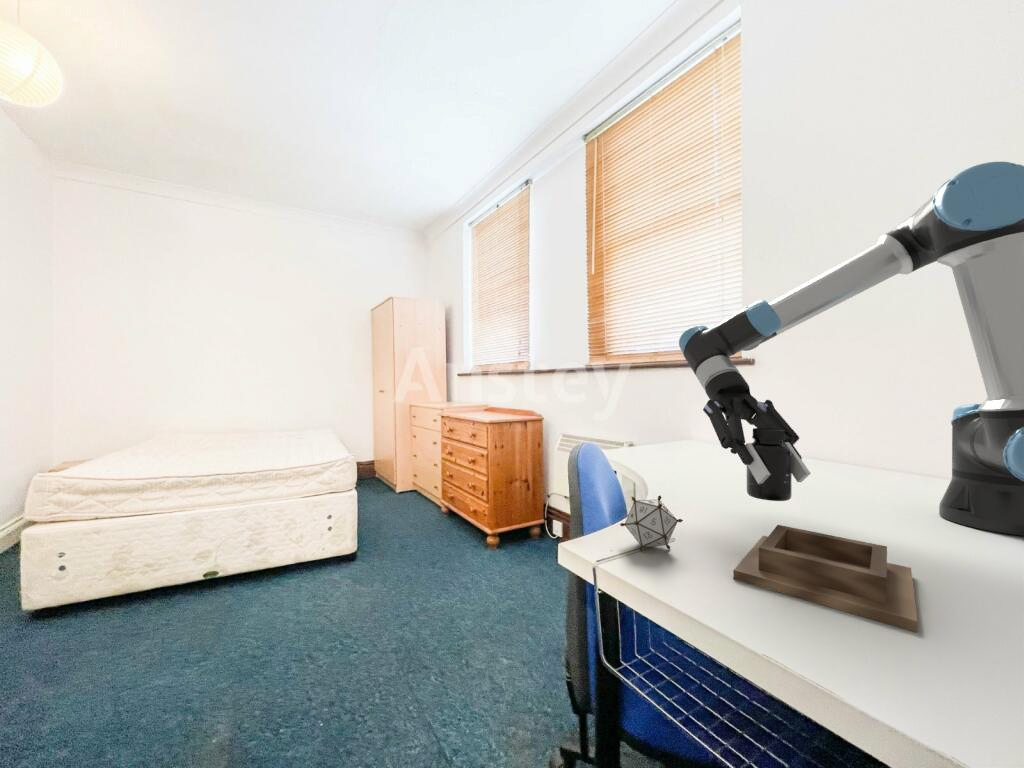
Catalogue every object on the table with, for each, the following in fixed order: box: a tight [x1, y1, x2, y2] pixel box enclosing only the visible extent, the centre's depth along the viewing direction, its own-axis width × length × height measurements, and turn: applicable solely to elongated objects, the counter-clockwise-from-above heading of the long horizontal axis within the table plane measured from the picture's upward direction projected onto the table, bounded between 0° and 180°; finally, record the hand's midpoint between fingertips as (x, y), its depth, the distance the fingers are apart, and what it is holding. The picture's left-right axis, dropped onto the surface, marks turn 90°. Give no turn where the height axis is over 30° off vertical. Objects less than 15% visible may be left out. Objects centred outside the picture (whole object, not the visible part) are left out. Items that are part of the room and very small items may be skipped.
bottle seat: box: [732, 524, 918, 633], centre depth 58 cm, size 18×18×4 cm
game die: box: [619, 495, 684, 551], centre depth 68 cm, size 9×8×10 cm
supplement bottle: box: [746, 427, 793, 502], centre depth 74 cm, size 7×7×12 cm
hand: (784, 478), depth 71 cm, fingers closed on supplement bottle, 7 cm apart
